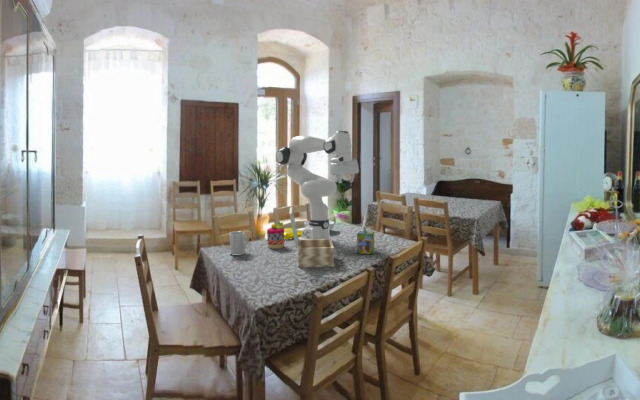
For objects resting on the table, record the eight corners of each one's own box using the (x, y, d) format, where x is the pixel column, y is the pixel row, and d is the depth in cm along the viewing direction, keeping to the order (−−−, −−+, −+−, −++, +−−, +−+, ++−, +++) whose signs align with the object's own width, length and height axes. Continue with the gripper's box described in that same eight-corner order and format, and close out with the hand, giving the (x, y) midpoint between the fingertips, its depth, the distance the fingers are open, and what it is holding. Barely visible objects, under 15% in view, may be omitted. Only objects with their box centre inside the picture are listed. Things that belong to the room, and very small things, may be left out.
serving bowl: (337, 234, 314) (337, 224, 313) (306, 235, 311) (306, 225, 310) (331, 228, 335) (331, 219, 334) (302, 229, 331) (302, 220, 330)
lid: (298, 248, 234) (295, 248, 234) (298, 239, 254) (295, 239, 254) (291, 213, 232) (288, 213, 232) (292, 207, 251) (289, 207, 251)
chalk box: (373, 254, 259) (373, 228, 257) (356, 254, 261) (357, 228, 259) (374, 250, 268) (374, 225, 266) (358, 250, 270) (358, 225, 268)
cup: (234, 251, 270) (233, 230, 268) (249, 251, 268) (248, 231, 266) (227, 255, 260) (226, 234, 258) (242, 256, 258) (242, 235, 256)
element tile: (289, 233, 319) (289, 226, 318) (304, 237, 308) (304, 229, 307) (272, 237, 309) (272, 229, 308) (286, 240, 298) (286, 233, 297)
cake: (278, 249, 272) (277, 224, 270) (263, 247, 277) (263, 223, 275) (288, 246, 281) (287, 221, 279) (273, 244, 286) (273, 220, 284)
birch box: (298, 267, 235) (298, 248, 234) (298, 257, 255) (298, 239, 254) (334, 266, 236) (334, 247, 235) (331, 256, 256) (331, 239, 255)
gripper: (352, 158, 280) (354, 181, 280) (328, 159, 266) (329, 183, 267) (360, 157, 275) (362, 180, 276) (335, 158, 261) (337, 183, 262)
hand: (346, 182), depth 271 cm, fingers open, 8 cm apart
